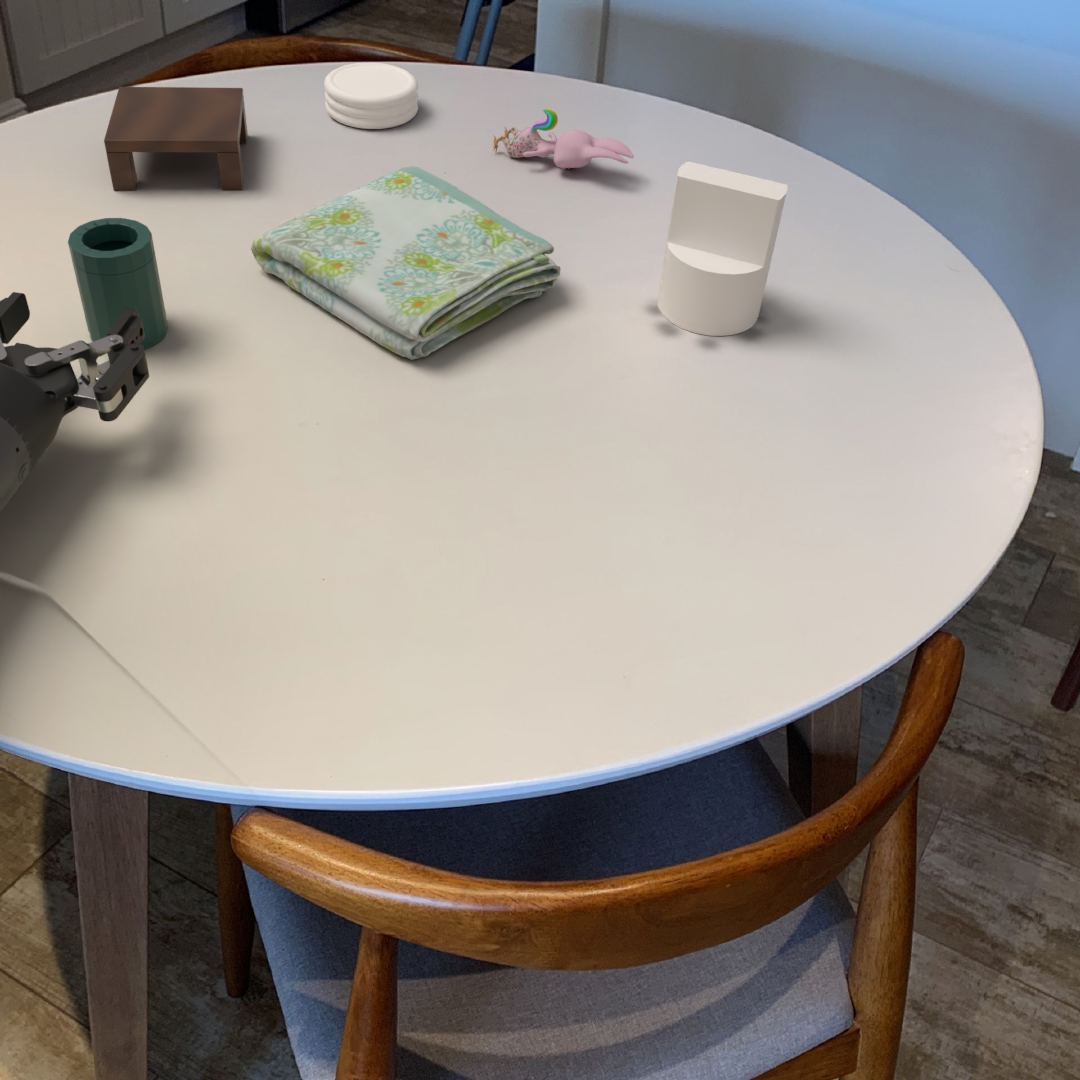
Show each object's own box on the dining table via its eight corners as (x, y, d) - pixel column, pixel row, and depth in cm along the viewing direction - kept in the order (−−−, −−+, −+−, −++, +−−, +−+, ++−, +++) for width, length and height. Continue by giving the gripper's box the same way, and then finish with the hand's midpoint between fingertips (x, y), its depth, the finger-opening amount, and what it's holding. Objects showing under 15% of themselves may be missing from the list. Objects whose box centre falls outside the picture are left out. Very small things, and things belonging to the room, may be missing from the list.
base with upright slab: (644, 319, 102) (663, 190, 94) (674, 271, 108) (694, 146, 100) (744, 346, 100) (773, 217, 92) (769, 295, 106) (798, 170, 98)
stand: (113, 190, 112) (103, 140, 109) (127, 134, 121) (118, 86, 117) (242, 190, 114) (237, 140, 110) (247, 135, 122) (242, 87, 119)
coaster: (379, 139, 124) (378, 107, 121) (306, 112, 127) (304, 80, 125) (436, 109, 130) (436, 77, 127) (365, 84, 133) (364, 53, 131)
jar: (85, 353, 93) (62, 257, 87) (95, 311, 97) (74, 217, 91) (164, 351, 94) (146, 256, 88) (170, 310, 98) (154, 217, 92)
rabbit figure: (487, 171, 123) (618, 188, 117) (480, 114, 119) (616, 128, 113) (515, 149, 127) (643, 164, 121) (509, 93, 123) (642, 106, 117)
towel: (416, 374, 94) (415, 319, 90) (250, 269, 104) (243, 215, 100) (567, 293, 104) (572, 241, 101) (403, 204, 114) (402, 154, 110)
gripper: (65, 416, 72) (165, 279, 84) (-158, 383, 73) (-28, 252, 84) (89, 507, 77) (180, 366, 89) (-119, 476, 78) (-2, 340, 90)
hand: (78, 311), depth 87 cm, fingers open, 8 cm apart
